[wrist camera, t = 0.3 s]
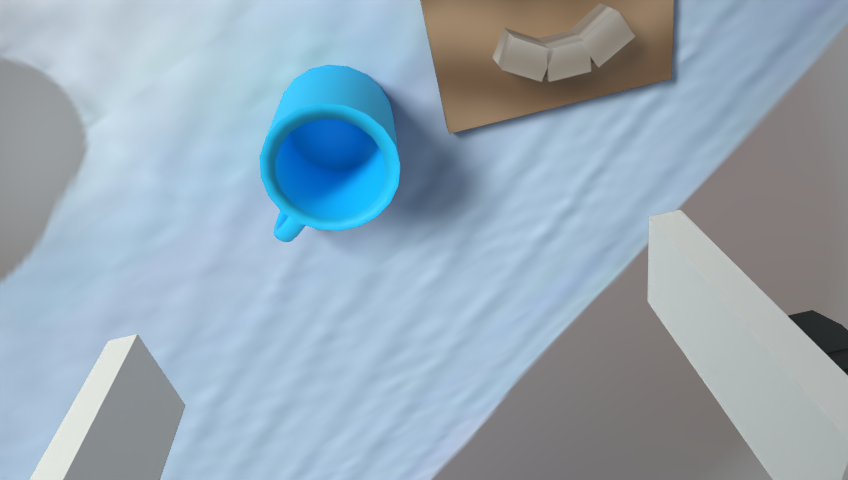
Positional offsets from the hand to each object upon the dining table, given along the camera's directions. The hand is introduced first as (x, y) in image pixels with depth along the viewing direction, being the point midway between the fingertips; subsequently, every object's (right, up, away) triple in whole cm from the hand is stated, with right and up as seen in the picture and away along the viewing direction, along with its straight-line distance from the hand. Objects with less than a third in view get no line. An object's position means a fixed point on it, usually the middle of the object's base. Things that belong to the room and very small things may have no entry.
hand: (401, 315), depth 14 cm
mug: (-7, +9, +26) cm, 28 cm away
